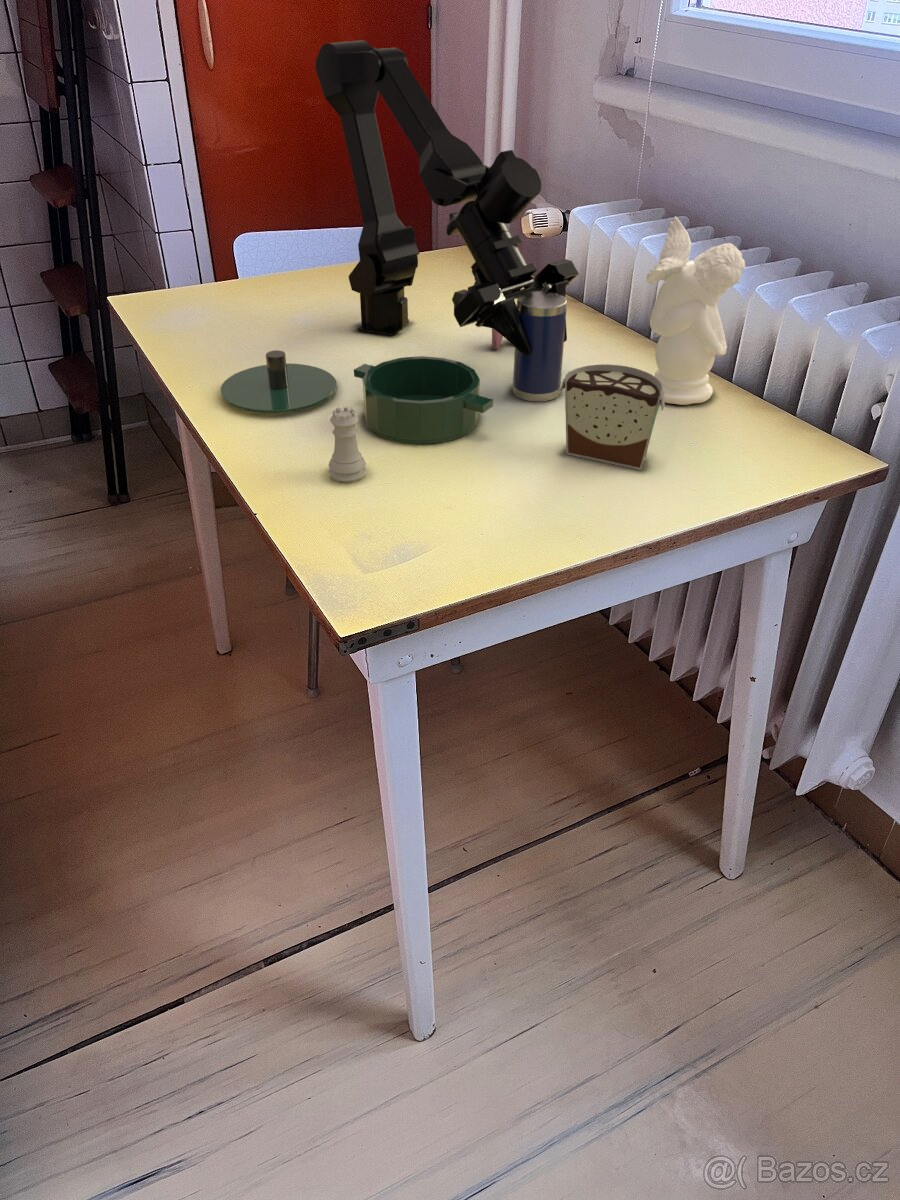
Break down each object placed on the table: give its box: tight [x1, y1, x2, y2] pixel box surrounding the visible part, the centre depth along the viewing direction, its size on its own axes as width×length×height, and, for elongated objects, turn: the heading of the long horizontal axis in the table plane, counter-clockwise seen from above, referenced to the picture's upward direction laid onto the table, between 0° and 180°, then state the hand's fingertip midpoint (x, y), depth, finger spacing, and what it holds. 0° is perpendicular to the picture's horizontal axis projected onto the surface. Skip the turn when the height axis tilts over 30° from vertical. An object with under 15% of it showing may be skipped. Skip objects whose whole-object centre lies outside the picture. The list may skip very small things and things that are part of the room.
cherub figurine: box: [645, 215, 746, 406], centre depth 121 cm, size 12×12×22 cm
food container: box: [560, 363, 666, 471], centre depth 111 cm, size 12×6×10 cm, turn 65°
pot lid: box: [220, 349, 338, 415], centre depth 126 cm, size 16×16×6 cm
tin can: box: [512, 291, 568, 403], centre depth 125 cm, size 6×6×13 cm
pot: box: [353, 355, 494, 445], centre depth 120 cm, size 15×20×6 cm
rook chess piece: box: [328, 406, 368, 484], centre depth 107 cm, size 4×4×8 cm
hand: (546, 348), depth 124 cm, fingers closed on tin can, 6 cm apart
